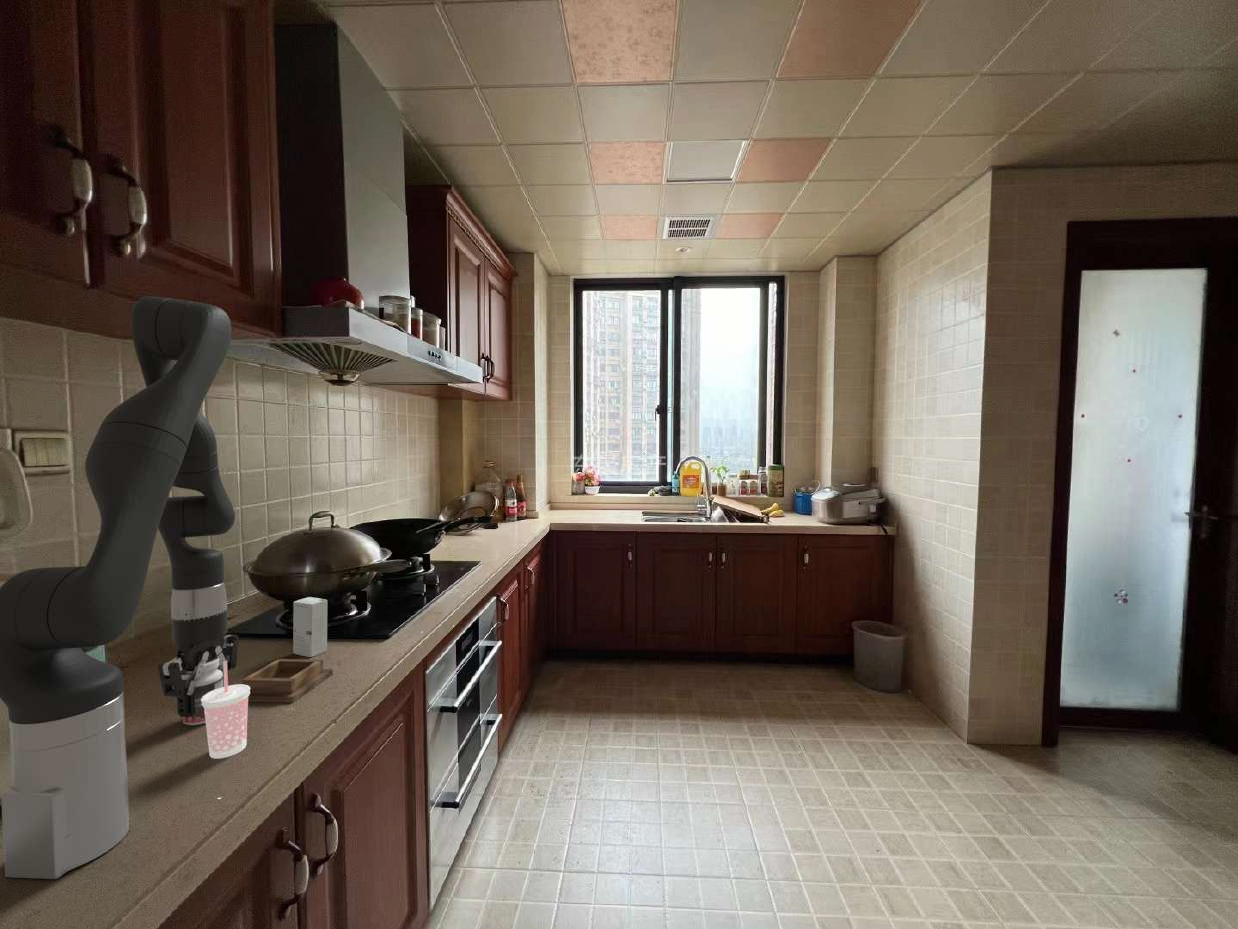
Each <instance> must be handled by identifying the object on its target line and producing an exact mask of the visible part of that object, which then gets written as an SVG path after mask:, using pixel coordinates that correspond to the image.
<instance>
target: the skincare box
mask: <svg viewBox="0 0 1238 929" xmlns="http://www.w3.org/2000/svg"><path fill="white" fill-rule="evenodd" d="M292 616H293V618H292V619H293V623H292V624H293V625H292V626H293V632H292V634H293V640H292V642H293V644H292V645H293V647H292V648H293V651H292V652H293V655H298V656H303V657H307V658H313V657H316V656H318V655H321V654H324V653H325V652H327V650H328V600H327V599H324V598H319V597H312V596H307V597H305V598H301V599H298V600H295V601H293V614H292Z"/></svg>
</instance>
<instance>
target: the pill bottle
mask: <svg viewBox="0 0 1238 929" xmlns="http://www.w3.org/2000/svg"><path fill="white" fill-rule="evenodd" d="M218 666H219V659H213V660H211V661H209V662H207V663H205V665H204V666H203V672H202V675H201V678H200V679H199V680H198V681H197V682H196V686H195V689H194V692H193V693H194V694H195V714H194V715H192V716H191V717H181V721H182V723H183V724H184V725H185V726H198V725H204V724H206V721H205V712H204V707H203V706H202V702H201V699H202V697H203V696H204V695H205V694H207V693H208V692H210V691H213V690H215V689H218V688H221V687H223V673H222V671H220V670H218V669H217V668H218ZM185 673H186V675H192V674H193V673H194V671H188V672H187V671H186V670H185ZM187 685H188V680H186V682H185V685H184V688H187Z"/></svg>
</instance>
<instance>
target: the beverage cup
mask: <svg viewBox="0 0 1238 929" xmlns="http://www.w3.org/2000/svg"><path fill="white" fill-rule="evenodd" d="M227 662H228V660H226V661H223V671H224V687H221V688H218V689H215V690H213V691H210V692H208V693H207V694H205V695H204V696H203V697H202V699H201V702H202V706H203V707H204V712H205V721H206V723H205V727H206V735H207V736H206V738H207V744H208V754H209V757H210V758H211V759H223V758H228V757H231V756H234V755H236V754H238V753H240V752H243V750H244V749H246V747H247V735H248V714H249V713H248V711H249V702H248V696H249V694H250V687H249V686H248V685H244V684H242V683H241V684H232V685H229V679H228V678H229V677H228V675H227Z"/></svg>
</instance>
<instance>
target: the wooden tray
mask: <svg viewBox="0 0 1238 929" xmlns="http://www.w3.org/2000/svg"><path fill="white" fill-rule="evenodd" d="M333 670H334V669H332V668H331V669H330V668H329V669H327V668H326V669H325V668H324V659H303V658H302V659H301V658H299V659H298V658H296V659H294V658H293V659H292V658H289V659H288V658H277V659H276V660H275V661H272V662H271V663H268V664H267V665H265V666H264V667H261V668H260V669H259V670H257V671H254V672H253V673H251V674H250V675H248V676H246V677H244V678H243V679H242V680H241V684H244V685H248V686H249V687H250V694H249V696H248V703H249V702H250V703H251V702H254V703H255V702H256V703H257V702H258V703H295V702H296V701H298V700H300V699H301V698H302V697H303V696H305V695H306V694H307V693H309V692H310V691H311V690H313V689H314V688H316V687H317V686H318V685H321V683H323V682H324V681H325V680H327V679H328V678H330V677H331V676H332V675H333V674H334V673H333Z"/></svg>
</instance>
